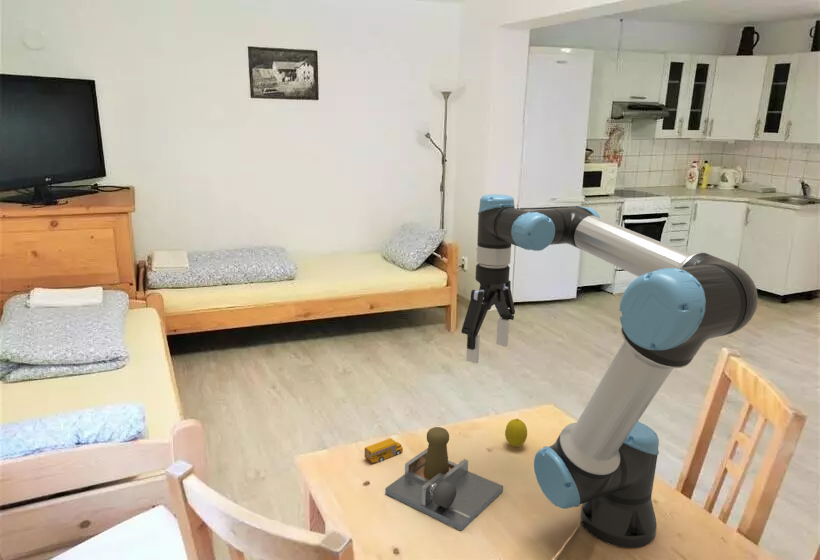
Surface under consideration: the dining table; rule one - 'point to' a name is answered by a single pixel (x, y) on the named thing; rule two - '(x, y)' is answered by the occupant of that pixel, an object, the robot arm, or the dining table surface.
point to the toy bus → (383, 450)
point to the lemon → (516, 432)
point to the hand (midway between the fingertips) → (487, 353)
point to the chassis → (420, 489)
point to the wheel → (445, 494)
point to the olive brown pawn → (436, 452)
